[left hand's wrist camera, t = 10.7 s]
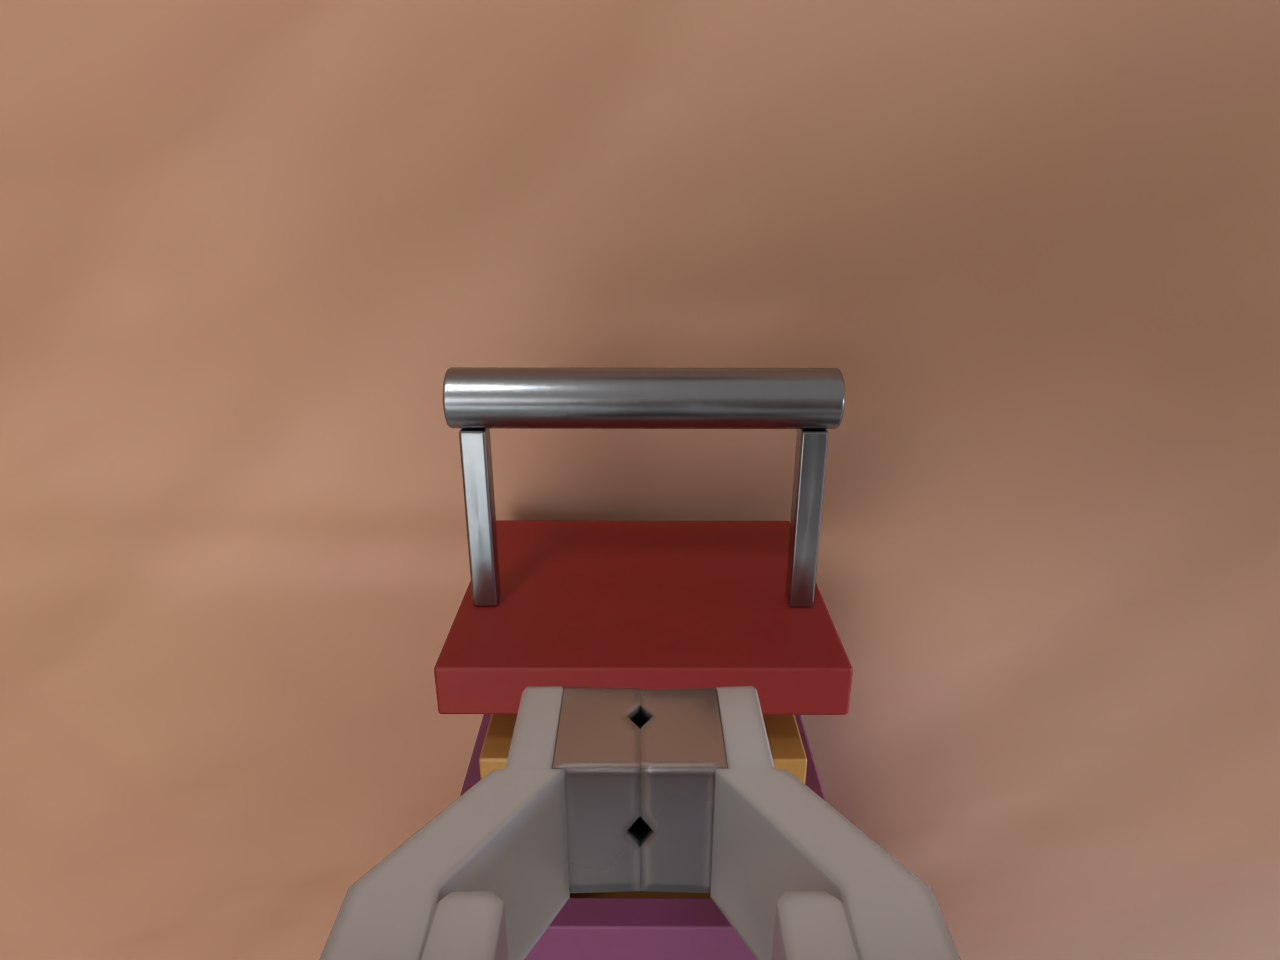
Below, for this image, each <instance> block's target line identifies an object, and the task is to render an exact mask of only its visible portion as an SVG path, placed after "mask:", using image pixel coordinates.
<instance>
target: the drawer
mask: <svg viewBox="0 0 1280 960" xmlns="http://www.w3.org/2000/svg"><path fill="white" fill-rule="evenodd" d="M844 404H845V387H844V380H843V376H842V373H841V371H840V370H839V369H837V368H449V369H448V370H447V371H446V374H445V378H444V384H443V407H444V414H445V419H446V422H447V424H448V426H449V427H450V428H462V429H461V430H460V432H459V439H460V451H461V464H462V476H463V488H464V501H465V513H466V525H467V538H468V550H469V562H470V575H471V581H470V584H469V586H468V589H467V591H466V593H465V596H464V598H463V601H462V603H461V605H460V608H459V610H458V613H457V615H456V617H455V620H454V622H453V625H452V627H451V629H450V632H449V634H448V637H447V639H446V641H445V644H444V646H443V649H442V651H441V653H440V656H439V658H438V661H437V663H436V665H435V668H434V673H435V683H436V693H437V702H438V711H439V713H440V714H491V718H490V722H489V725H488V729H487V732H486V736H485V740H484V743H483V747H482V751H481V754H480V758H479V765H480V777H481V779H482V778H484V777H485V776H486V775H487V774H488V773H490V772H491V771H492V770H493V769H505V767H506V763H507V758H508V754H509V750H510V745H511V741H512V736H513V732H514V728H515V723H516V719H517V714H518V710H519V706H520V701H521V697H522V692H523V691H524V690H525V688H526V687H527V686H562V687H564V688H565V687H613V688H640V689H677V688H716V687H733V686H753V687H754V688H755V689H756V690H757V693H758V698H759V702H760V706H761V711H762V715H763V719H764V724H765V728H766V732H767V737H768V741H769V745H770V750H771V754H772V758H773V763H774V767H775V769H787V770H788V771H789V772H790V773H792V774H793V775H794V776H795V777H797V778H798V779H799V780H800V781H801V782H803V783H804V784H805V780H806V769H807V757H806V754H805V750H804V747H803V743H802V740H801V736H800V733H799V729H798V726H797V722H796V718H795V715H845V714H847V713H848V709H849V700H850V691H851V682H852V673H853V669H852V667H851V664H850V662H849V659H848V657H847V655H846V652H845V650H844V648H843V645H842V643H841V641H840V638H839V636H838V634H837V631H836V629H835V627H834V624H833V622H832V620H831V617H830V615H829V613H828V610H827V608H826V606H825V603H824V601H823V598H822V596H821V594H820V591H819V589H818V587H817V584H816V571H817V559H818V548H819V536H820V525H821V513H822V502H823V491H824V479H825V468H826V456H827V445H828V431H827V430H826V429H836V428H838V427H839V426H840V424H841V421H842V417H843V413H844ZM490 428H557V429H797V441H796V454H795V468H794V482H793V495H792V509H791V523H790V522H789V521H496V516H495V501H494V486H493V471H492V456H491V441H490ZM569 894H570V898H711V897H710V895H711V893H683V892H648V891H630V892H596V893H569Z"/></svg>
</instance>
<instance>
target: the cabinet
mask: <svg viewBox="0 0 1280 960" xmlns="http://www.w3.org/2000/svg"><path fill="white" fill-rule="evenodd" d="M490 718H491V714H484V716H483V719H482V723H481V726H480V730H479V733H478V736H477V740H476V743H475V747H474V750H473V754H472V757H471V761H470V764H469V768H468V771H467V775H466V778H465V781H464V785H463V788H462V792H461V795H460V796H462V795H463V794H464V793H465V792H466V791H468V790H469V789H470V788H471V787H473V786H474V785H475V784H476V783H477V782H479V781H480V780H481V777H480V765H479V758H480V754H481V751H482V747H483V743H484V740H485V736H486V732H487V729H488V725H489V722H490ZM795 718H796V722H797V726H798V729H799V733H800V736H801V740H802V743H803V747H804V750H805V754H806V757H807V769H806V780H805V785H806V786H807V787H809V788H810V789H811V790H812V791H814V792H815V793H816V794H817V795H818V796H820V797H821V798H822V799H823V800H824V801H826V800H825V797H824V793H823V790H822V787H821V783H820V780H819V776H818V773H817V770H816V766H815V763H814V759H813V756H812V753H811V749H810V746H809V742H808V739H807V736H806V732H805V729H804V725H803V722H802V719H801V715H795ZM524 960H756V959H755V957H754V956H753V955H752V953H751V952H750V950H749V949H748V948H747V946H746V945H745V944H744V942H743V941H742V939H741V938H740V937H739V935H738V934H737V933H736V931H735V930H734V928H733V927H732V926H731V924H730V923H729V922H728V920H727V919H726V917H725V916H724V915H723V913H722V912H721V911H720V909H719V908H718V906H717V905H716V904H715V902H714V901H713V900H712V898H569V899H568V900H567V902H566V903H565V905H564V906H563V907H562V909H561V910H560V911H559V913H558V914H557V915H556V917H555V918H554V920H553V921H552V922H551V924H550V925H549V926H548V928H547V929H546V931H545V932H544V933H543V935H542V936H541V937H540V939H539V940H538V941H537V943H536V944H535V946H534V947H533V948H532V950H531V951H530V952H529V954H528V955H527V957H526V958H525V959H524Z"/></svg>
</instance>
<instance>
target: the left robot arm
mask: <svg viewBox="0 0 1280 960" xmlns="http://www.w3.org/2000/svg"><path fill="white" fill-rule="evenodd" d="M630 891H648V892H683V893H711V895H710V897H711V898H712V900H713V901H714V902H715V904H716V905H717V906H718V908H719V909H720V911H721V912H722V913H723V915H724V916H725V917H726V919H727V920H728V922H729V923H730V924H731V926H732V927H733V928H734V930H735V931H736V933H737V934H738V935H739V937H740V938H741V939H742V941H743V942H744V944H745V945H746V946H747V948H748V949H749V950H750V952H751V953H752V955H753V956H754V957H755V959H756V960H961V959H960V957H959V954H958V952H957V950H956V947H955V945H954V942H953V940H952V937H951V935H950V932H949V930H948V927H947V925H946V922H945V920H944V918H943V915H942V913H941V910H940V908H939V905H938V903H937V900H936V898H935V895H934V893H933V890H932V889H931V888H930V887H929V886H928V885H926V884H925V883H924V882H923V881H922V880H920V879H919V878H918V877H917V876H915V875H914V874H913V873H912V872H911V871H909V870H908V869H907V868H906V867H905V866H903V865H902V864H901V863H900V862H898V861H897V860H896V859H895V858H894V857H892V856H891V855H890V854H889V853H888V852H886V851H885V850H884V849H883V848H881V847H880V846H879V845H878V844H877V843H875V842H874V841H873V840H872V839H871V838H869V837H868V836H867V835H866V834H864V833H863V832H862V831H861V830H860V829H858V828H857V827H856V826H855V825H854V824H852V823H851V822H850V821H849V820H847V819H846V818H845V817H844V816H843V815H841V814H840V813H839V812H838V811H837V810H835V809H834V808H833V807H832V806H831V805H829V804H828V803H827V802H826V801H824V800H823V799H822V798H821V797H820V796H818V795H817V794H816V793H815V792H814V791H812V790H811V789H810V788H809V787H807V786H806V785H805V784H804V783H803V782H801V781H800V780H799V779H798V778H797V777H795V776H794V775H793V774H792V773H790V772H789V771H788V770H787V769H775V767H774V763H773V758H772V754H771V750H770V745H769V741H768V737H767V732H766V728H765V724H764V719H763V715H762V711H761V706H760V702H759V698H758V693H757V690H756V689H755V688H754V687H753V686H733V687H716V688H677V689H640V688H613V687H565V688H564V687H562V686H527V687H526V688H525V690H524V691H523V692H522V697H521V701H520V706H519V710H518V714H517V719H516V723H515V728H514V732H513V736H512V741H511V745H510V750H509V754H508V758H507V763H506V767H505V769H493V770H492V771H491V772H490V773H488V774H487V775H486V776H485V777H484V778H482V779H481V780H480V781H479V782H477V783H476V784H475V785H474V786H473V787H471V788H470V789H469V790H468V791H466V792H465V793H464V794H463V795H462V796H460V797H459V798H458V799H457V800H455V801H454V802H453V803H452V804H451V805H449V806H448V807H447V808H446V809H444V810H443V811H442V812H441V813H440V814H438V815H437V816H436V817H435V818H433V819H432V820H431V821H430V822H429V823H427V824H426V825H425V826H424V827H423V828H421V829H420V830H419V831H418V832H416V833H415V834H414V835H413V836H412V837H410V838H409V839H408V840H407V841H405V842H404V843H403V844H402V845H401V846H399V847H398V848H397V849H396V850H394V851H393V852H392V853H391V854H390V855H388V856H387V857H386V858H385V859H383V860H382V861H381V862H380V863H379V864H377V865H376V866H375V867H374V868H373V869H371V870H370V871H369V872H368V873H366V874H365V875H364V876H363V877H362V878H360V879H359V880H358V881H357V882H355V883H354V884H353V885H352V886H351V887H349V889H348V892H347V894H346V896H345V899H344V901H343V904H342V906H341V909H340V911H339V913H338V916H337V918H336V921H335V923H334V925H333V928H332V930H331V933H330V935H329V938H328V940H327V942H326V945H325V947H324V950H323V952H322V955H321V957H320V959H319V960H524V959H525V958H526V957H527V955H528V954H529V952H530V951H531V950H532V948H533V947H534V946H535V944H536V943H537V941H538V940H539V939H540V937H541V936H542V935H543V933H544V932H545V931H546V929H547V928H548V926H549V925H550V924H551V922H552V921H553V920H554V918H555V917H556V915H557V914H558V913H559V911H560V910H561V909H562V907H563V906H564V905H565V903H566V902H567V900H568V899H569V898H570V894H569V893H596V892H630Z"/></svg>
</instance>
